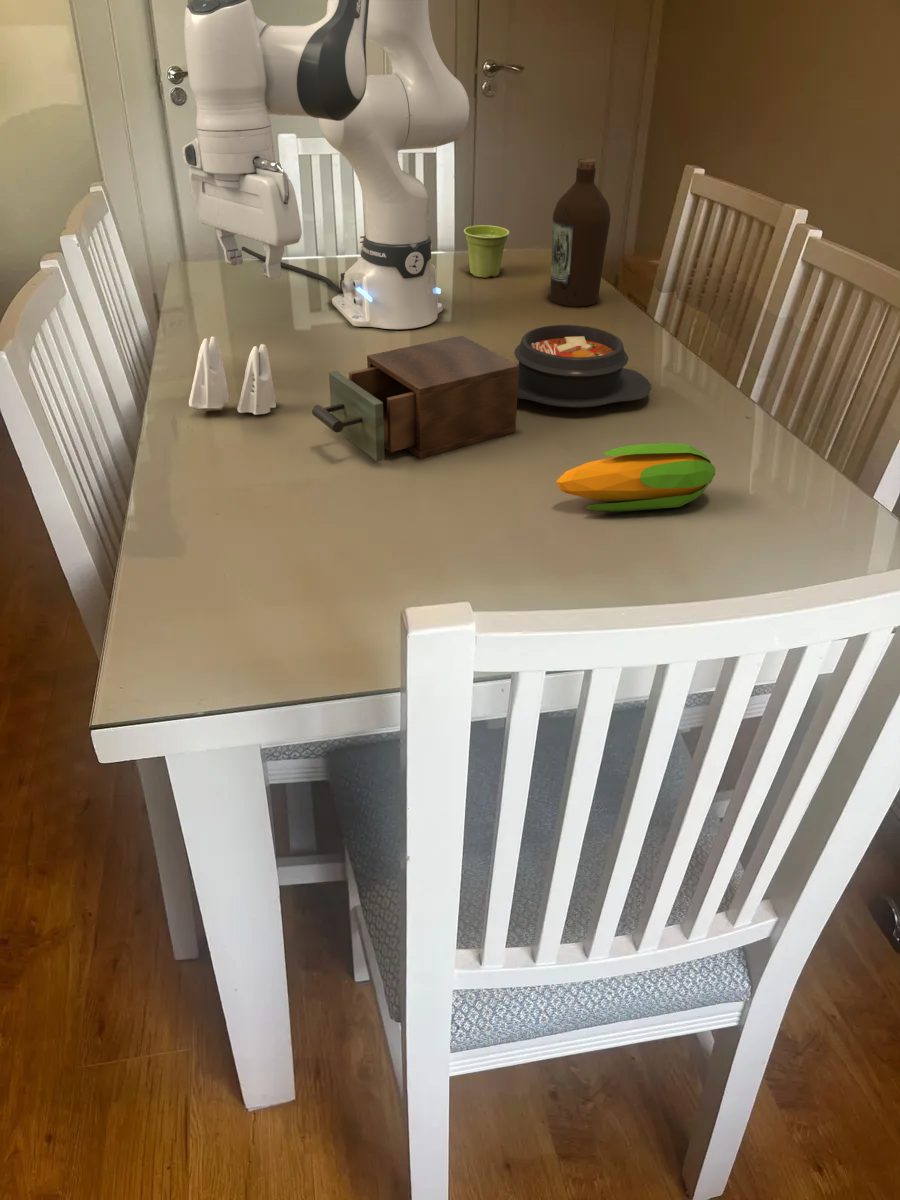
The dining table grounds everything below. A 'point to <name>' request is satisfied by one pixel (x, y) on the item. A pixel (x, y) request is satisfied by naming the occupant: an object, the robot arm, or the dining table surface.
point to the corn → (641, 477)
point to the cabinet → (454, 392)
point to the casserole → (576, 368)
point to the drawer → (370, 411)
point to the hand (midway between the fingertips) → (253, 270)
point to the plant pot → (485, 249)
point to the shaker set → (213, 387)
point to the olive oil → (579, 240)
